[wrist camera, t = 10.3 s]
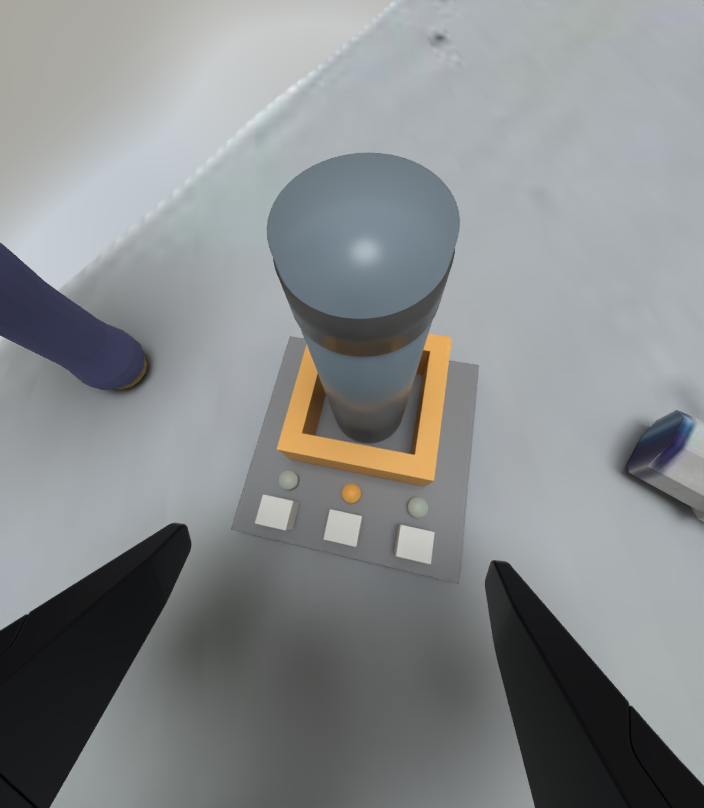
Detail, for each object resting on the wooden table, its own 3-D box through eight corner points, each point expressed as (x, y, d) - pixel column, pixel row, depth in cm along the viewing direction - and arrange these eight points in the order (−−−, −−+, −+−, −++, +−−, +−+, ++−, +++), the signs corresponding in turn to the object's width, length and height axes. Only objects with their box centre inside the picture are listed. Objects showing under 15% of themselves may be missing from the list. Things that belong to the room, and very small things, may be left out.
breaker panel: (453, 579, 17) (477, 598, 13) (239, 528, 18) (203, 531, 14) (473, 373, 21) (496, 339, 17) (294, 345, 22) (276, 308, 18)
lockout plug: (414, 430, 18) (498, 264, 6) (346, 454, 18) (291, 330, 6) (389, 369, 20) (416, 131, 7) (325, 390, 20) (246, 181, 7)
